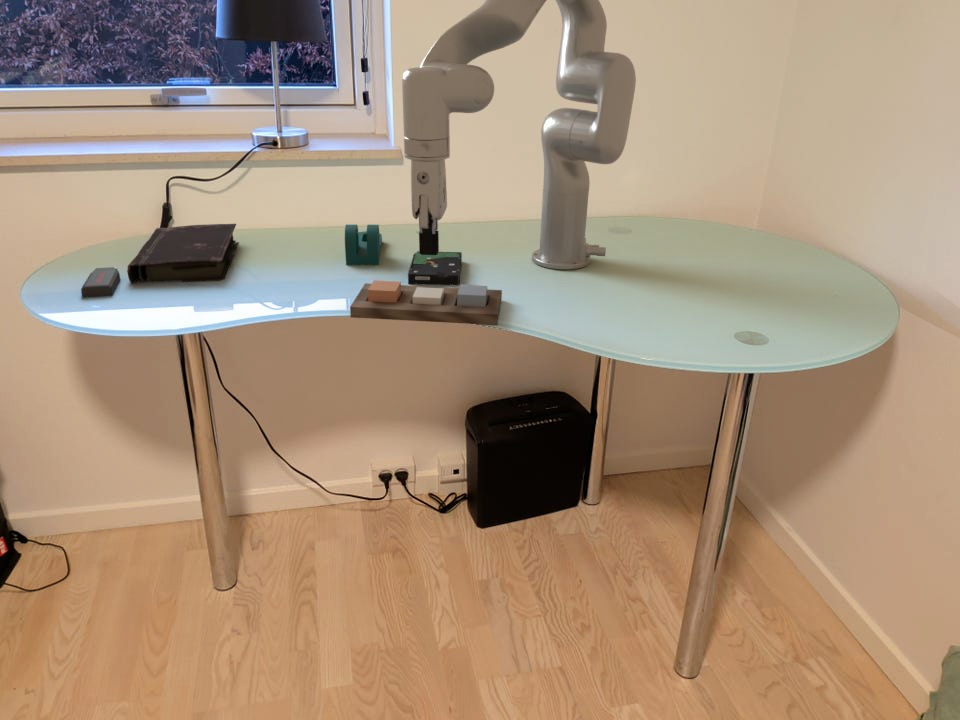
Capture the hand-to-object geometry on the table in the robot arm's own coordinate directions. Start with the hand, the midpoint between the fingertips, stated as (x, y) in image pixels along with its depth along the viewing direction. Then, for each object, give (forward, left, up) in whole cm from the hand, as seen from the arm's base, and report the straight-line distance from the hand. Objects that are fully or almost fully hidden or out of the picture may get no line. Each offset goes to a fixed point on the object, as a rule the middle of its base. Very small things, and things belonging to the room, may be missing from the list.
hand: (429, 253), depth 132 cm
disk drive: (+2, -20, -11) cm, 23 cm away
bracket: (+19, -31, -11) cm, 38 cm away
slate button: (-8, 0, -10) cm, 13 cm away
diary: (+54, -19, -11) cm, 58 cm away
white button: (0, 0, -11) cm, 11 cm away
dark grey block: (+64, -3, -11) cm, 65 cm away
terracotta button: (+8, 0, -10) cm, 13 cm away
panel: (0, 0, -10) cm, 10 cm away
